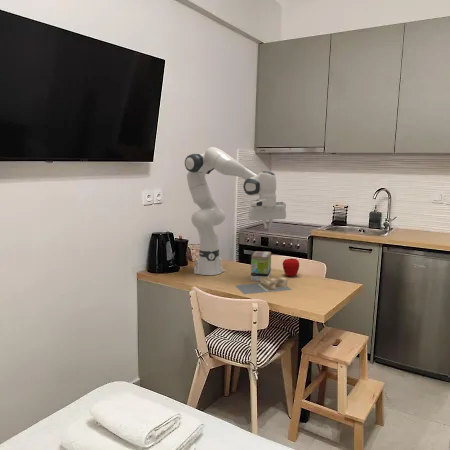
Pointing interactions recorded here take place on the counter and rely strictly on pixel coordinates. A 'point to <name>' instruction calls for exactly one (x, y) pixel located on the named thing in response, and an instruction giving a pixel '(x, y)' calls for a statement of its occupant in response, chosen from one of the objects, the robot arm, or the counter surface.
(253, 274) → the tea box
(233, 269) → the counter surface
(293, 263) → the apple
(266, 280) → the tee
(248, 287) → the mat
